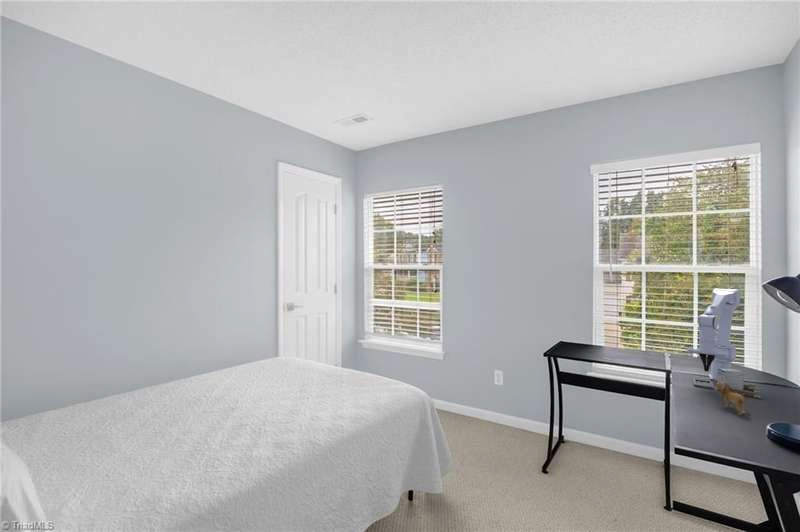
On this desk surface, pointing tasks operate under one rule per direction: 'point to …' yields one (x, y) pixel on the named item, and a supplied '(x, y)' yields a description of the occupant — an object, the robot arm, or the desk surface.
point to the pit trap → (702, 382)
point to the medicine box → (731, 378)
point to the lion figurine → (731, 397)
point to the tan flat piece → (750, 386)
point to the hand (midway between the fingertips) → (706, 371)
